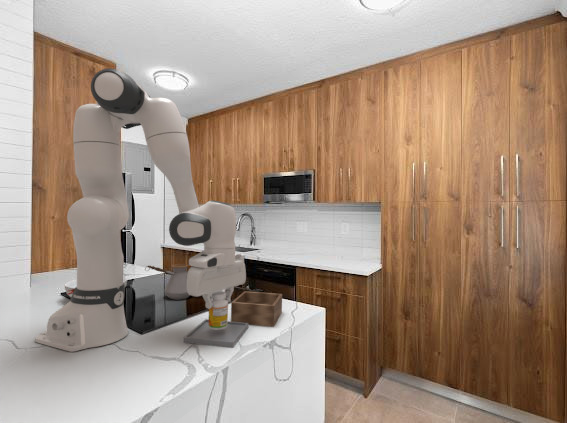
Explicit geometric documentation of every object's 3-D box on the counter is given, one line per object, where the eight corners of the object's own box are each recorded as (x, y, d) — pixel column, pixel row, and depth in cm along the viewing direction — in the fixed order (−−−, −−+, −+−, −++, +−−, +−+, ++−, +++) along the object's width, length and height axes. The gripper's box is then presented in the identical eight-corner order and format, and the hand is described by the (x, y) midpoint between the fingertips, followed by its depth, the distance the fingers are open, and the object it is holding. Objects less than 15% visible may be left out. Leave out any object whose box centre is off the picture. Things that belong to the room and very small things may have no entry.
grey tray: (183, 342, 83) (183, 337, 83) (205, 323, 96) (205, 319, 96) (233, 347, 80) (233, 342, 80) (248, 327, 94) (248, 323, 94)
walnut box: (230, 322, 98) (231, 302, 98) (243, 309, 111) (244, 291, 111) (273, 326, 95) (274, 306, 95) (281, 312, 109) (282, 294, 109)
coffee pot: (180, 291, 132) (181, 257, 132) (199, 295, 127) (200, 259, 127) (135, 304, 114) (136, 264, 114) (156, 309, 108) (157, 267, 108)
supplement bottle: (209, 323, 91) (210, 290, 91) (228, 323, 91) (229, 290, 91) (207, 330, 85) (207, 295, 85) (226, 330, 86) (227, 295, 86)
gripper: (236, 252, 99) (235, 295, 99) (183, 260, 82) (182, 311, 82) (251, 254, 95) (250, 298, 95) (199, 262, 78) (198, 316, 78)
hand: (218, 305), depth 88 cm, fingers closed on supplement bottle, 5 cm apart
